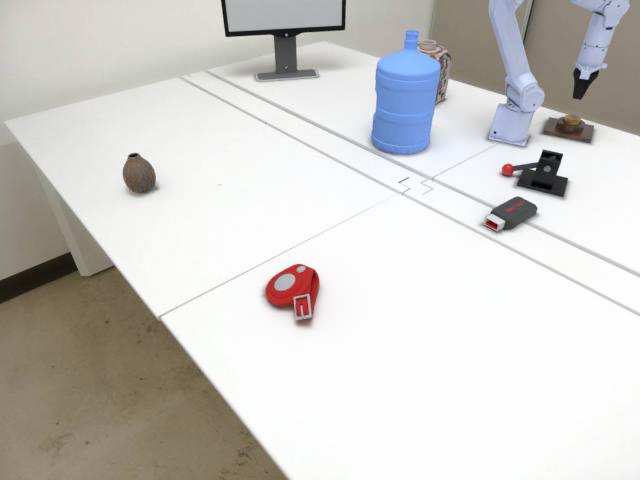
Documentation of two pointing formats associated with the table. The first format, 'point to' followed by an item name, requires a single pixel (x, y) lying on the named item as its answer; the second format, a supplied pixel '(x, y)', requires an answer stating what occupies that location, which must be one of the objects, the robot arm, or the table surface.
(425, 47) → the decorative jar
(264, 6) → the computer monitor
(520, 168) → the lever
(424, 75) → the water jug
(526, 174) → the bracket
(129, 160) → the vase
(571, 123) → the button
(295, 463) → the table surface
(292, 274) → the tracker holder
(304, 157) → the table surface
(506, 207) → the usb drive
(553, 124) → the button block
